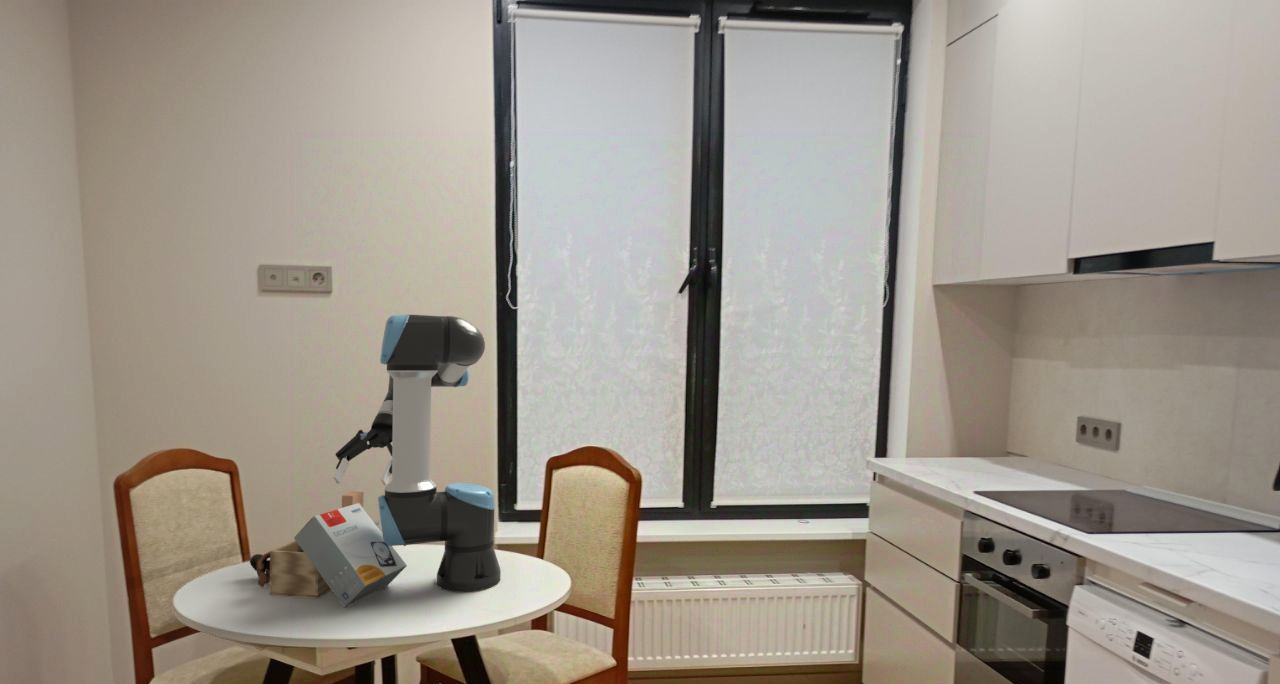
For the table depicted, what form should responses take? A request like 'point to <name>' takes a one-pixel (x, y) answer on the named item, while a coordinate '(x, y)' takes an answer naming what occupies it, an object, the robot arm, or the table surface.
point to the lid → (353, 500)
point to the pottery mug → (261, 567)
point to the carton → (294, 573)
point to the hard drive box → (349, 553)
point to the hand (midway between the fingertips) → (359, 481)
